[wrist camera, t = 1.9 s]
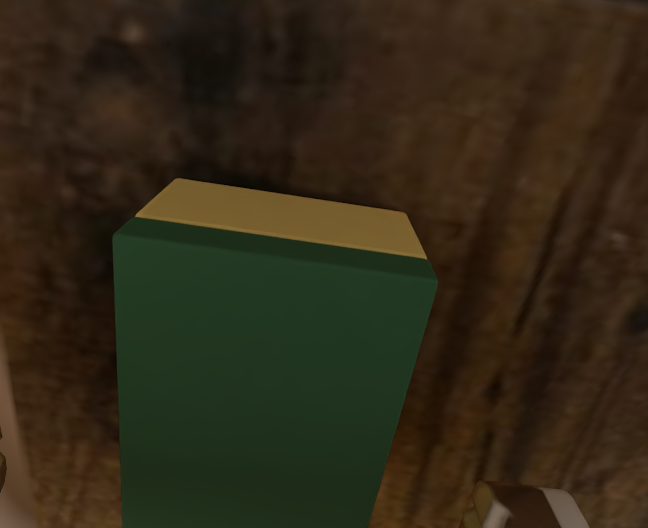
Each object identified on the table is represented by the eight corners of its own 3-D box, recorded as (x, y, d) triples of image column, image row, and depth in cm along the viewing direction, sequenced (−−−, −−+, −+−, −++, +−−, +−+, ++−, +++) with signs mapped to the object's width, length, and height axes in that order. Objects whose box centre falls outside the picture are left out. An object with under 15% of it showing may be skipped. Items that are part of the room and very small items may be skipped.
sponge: (175, 176, 9) (109, 233, 6) (407, 211, 9) (441, 281, 7) (168, 446, 12) (122, 567, 9) (344, 467, 12) (351, 589, 9)
